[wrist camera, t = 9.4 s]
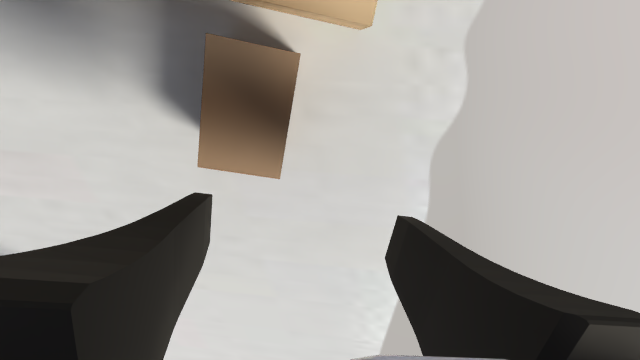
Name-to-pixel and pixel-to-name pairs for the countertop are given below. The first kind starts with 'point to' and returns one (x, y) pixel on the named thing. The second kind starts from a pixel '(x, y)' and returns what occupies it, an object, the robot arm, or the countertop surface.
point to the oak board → (325, 10)
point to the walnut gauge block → (245, 106)
